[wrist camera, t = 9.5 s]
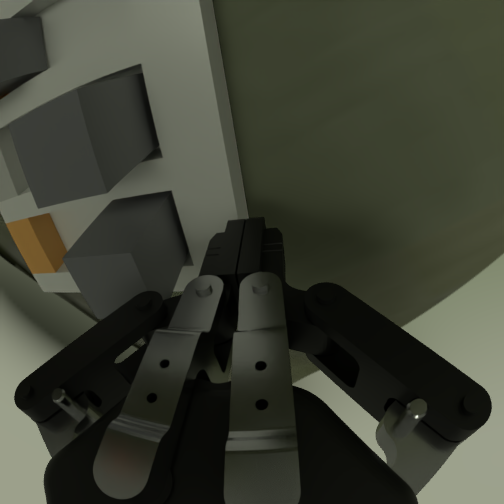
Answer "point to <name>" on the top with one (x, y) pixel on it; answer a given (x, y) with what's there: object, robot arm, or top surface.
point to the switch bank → (163, 111)
